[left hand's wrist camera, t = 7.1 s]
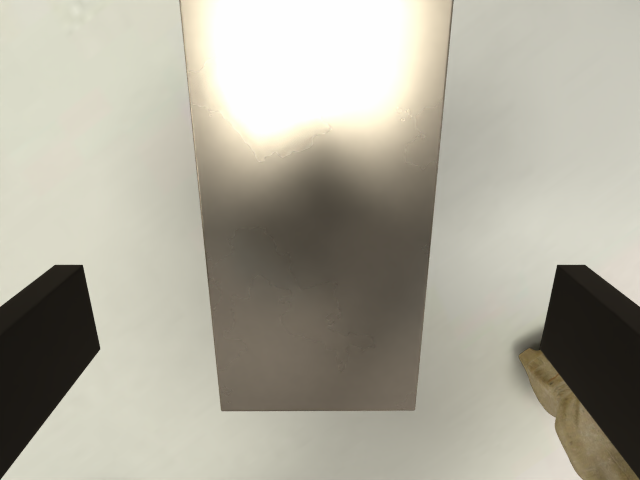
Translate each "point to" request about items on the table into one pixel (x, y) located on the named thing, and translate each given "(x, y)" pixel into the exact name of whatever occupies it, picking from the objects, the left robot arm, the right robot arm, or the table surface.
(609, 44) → the table surface
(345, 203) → the box
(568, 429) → the sculpture
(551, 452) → the table surface
